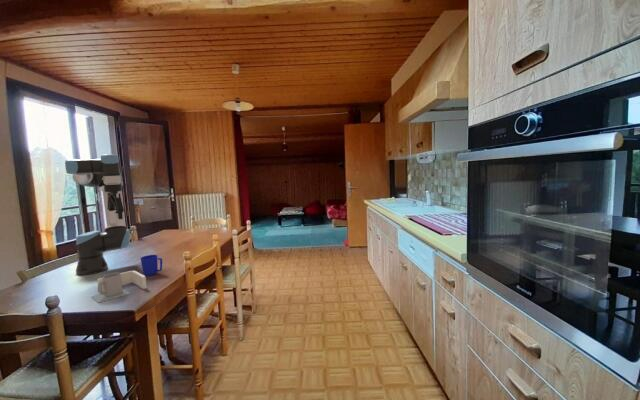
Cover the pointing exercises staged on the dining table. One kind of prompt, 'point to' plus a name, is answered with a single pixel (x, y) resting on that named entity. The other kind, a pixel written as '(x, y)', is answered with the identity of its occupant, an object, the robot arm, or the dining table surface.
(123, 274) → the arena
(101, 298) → the pad
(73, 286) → the dining table surface
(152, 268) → the mug
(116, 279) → the cup
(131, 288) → the dining table surface
